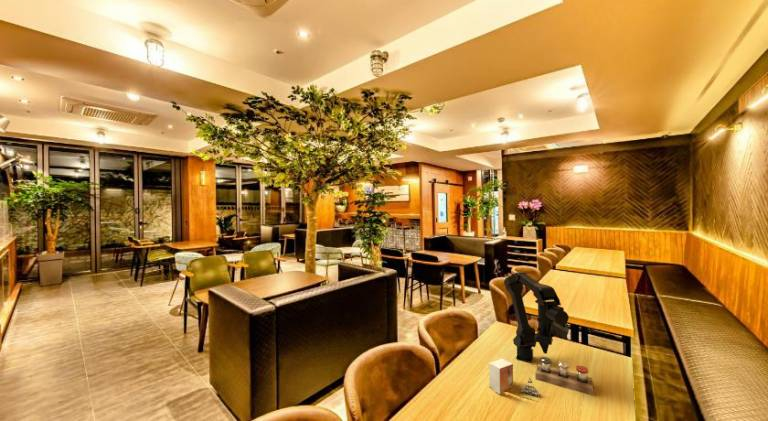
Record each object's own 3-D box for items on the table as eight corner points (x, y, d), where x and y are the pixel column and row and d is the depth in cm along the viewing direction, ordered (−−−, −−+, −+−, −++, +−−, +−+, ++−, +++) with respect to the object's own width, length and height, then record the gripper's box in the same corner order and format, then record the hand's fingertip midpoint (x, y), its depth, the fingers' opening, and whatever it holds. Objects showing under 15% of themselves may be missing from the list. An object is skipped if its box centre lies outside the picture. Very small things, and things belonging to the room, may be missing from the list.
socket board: (535, 382, 126) (535, 373, 126) (538, 372, 133) (538, 363, 133) (592, 399, 115) (592, 388, 115) (592, 387, 122) (592, 377, 122)
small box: (499, 395, 118) (499, 368, 118) (488, 387, 123) (488, 362, 123) (513, 389, 121) (513, 363, 121) (502, 382, 126) (502, 357, 126)
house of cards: (544, 392, 120) (544, 373, 120) (545, 404, 112) (545, 384, 112) (520, 386, 124) (520, 368, 124) (519, 398, 116) (519, 378, 116)
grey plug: (540, 373, 127) (539, 359, 127) (541, 368, 130) (541, 355, 130) (550, 375, 125) (550, 362, 125) (551, 371, 128) (551, 358, 128)
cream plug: (557, 377, 124) (557, 364, 123) (558, 373, 127) (558, 360, 127) (568, 380, 121) (568, 366, 121) (569, 376, 125) (569, 362, 124)
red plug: (576, 382, 120) (576, 368, 120) (576, 378, 123) (576, 364, 123) (588, 386, 118) (588, 371, 117) (588, 381, 121) (588, 367, 121)
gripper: (565, 327, 115) (566, 367, 115) (568, 313, 131) (569, 348, 131) (534, 321, 122) (534, 359, 122) (540, 308, 137) (540, 342, 137)
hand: (545, 352), depth 128 cm, fingers open, 3 cm apart
